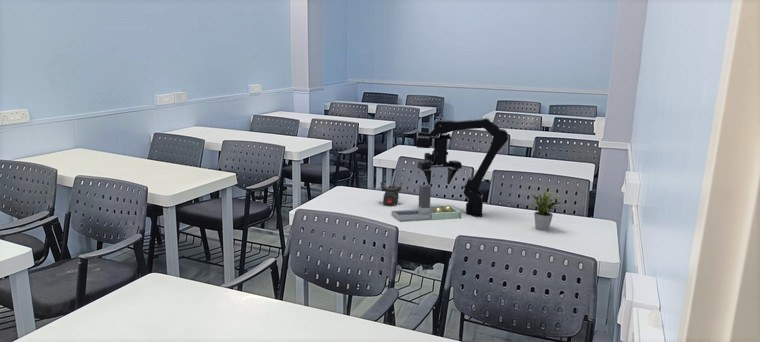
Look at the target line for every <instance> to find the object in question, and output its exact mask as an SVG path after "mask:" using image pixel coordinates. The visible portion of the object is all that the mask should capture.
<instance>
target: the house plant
mask: <svg viewBox="0 0 760 342" xmlns="http://www.w3.org/2000/svg"><path fill="white" fill-rule="evenodd" d="M546 189H547V188H545V189H544V190H543V191H544V192H543V196H542V194H541V193H540V192H539V191H537V194H538V197H539V198H538V197H537V196H536V195H535V193H534V192H532V193H531V192H530V193H527V194H529V195H531V196H532V197H533V198H534V200H532V202H533V203H534V204H536V205H537V206H536V205H534V204H530V206H529V207H530V209H532V208H533V209H534V208H535V209H537V211H534V213H533V214H534V225H535V226H534V227H535V229H536V230H538V231H550V226H551V223H552V219H553V215H554V214H553V213H552V212H551V210H558V211H560V209H561V210H562V208H561V206H558V205H559V204H563V202H562V201H561V202H559V201H556V200H558V198H559V197H560V196H561V194H559V195H556V196H555V197H553V198H551V199H550V197H551V196H552V194H554V193H555V191H553V192H552V190H550V191H548V193H547V194H546ZM553 201H555V202H553Z"/></svg>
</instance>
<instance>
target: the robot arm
mask: <svg viewBox="0 0 760 342" xmlns="http://www.w3.org/2000/svg"><path fill="white" fill-rule="evenodd" d="M433 126H434V127H433V129H432V131H430V132H423V131H419V132H418V133H417V136H416V137H417V138H416V148H417V149H430V148H431V147H433V150H432V151H431V152H432V153H430V152H425V153H424V156H423V157H424V161H423V160H422V161H418V163H417V165H416V166H417V168H418V169H420V170H421V171H422V172H423V173H424V177H425V179H426V182H427V185H429V186H430V185H431V180H432V170H431V168H447V183H446V184H447V185H450V183H451V182H452V180H453V178H454V176H455V175H456V173H457V172H459V171H460V170H461V169H462V167H463V166H462V162H461V161H459V160H447V158H448V155H449V152H448V142H449V140H452V139H453V136H451V134H450V133H451V132H454V131H461V130H473V129H474V130H475V129H484V130H485V131H486V132H487V133H488V134H489V135H490V136H492V140H491V144H490V147H489V149H488V150H487V152H486V154H485V156H484V158H483V160H482V161H481V162H480V163H481V164H480V165H479V167H478V169H477V170H476V172H475V174H474V175H473V177H471V176H469V177H468V179H467V181H466V183H464V185H463V193H464V196H465V197H466V198H467V202H466V203H465V214H466V215H467V216H472V217H483V204H484V202H483V196H484V194H483V193H482V192H481V191H480V190H479V189H480V186H481V184H482V181H483V179H484V177H485V175H486V173H487V172H488V170H489V168H490V167H491V164H492V163H493V161H494V159H495V157H496V156H497V153H498V152H499V151H500V150H501V149H502V148H503V146H504V145H505V144H506V143H507V141H508V140H509V133H508V131H507V130H506V129H504V128H500V127H499V126H498V125H496V124H495V123H493V122H492V121H491V120H490V119H489V118H487V117H486V118H479V119H467V120H451V119H450V120H449V119H440V120H437V121H436V122H435V124H434V125H433ZM437 135H439V136H437Z"/></svg>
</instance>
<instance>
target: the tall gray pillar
mask: <svg viewBox="0 0 760 342" xmlns="http://www.w3.org/2000/svg"><path fill="white" fill-rule="evenodd" d="M418 189H419V190H418V205H417V209H418V214H430V209H431V208H430V206H431V194H432V193H431V191H432V186H430V185H428V184H424V185H423V184H420V185H419V187H418Z"/></svg>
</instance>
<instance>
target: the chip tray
mask: <svg viewBox="0 0 760 342" xmlns="http://www.w3.org/2000/svg"><path fill="white" fill-rule="evenodd" d="M445 206H451V205H449V204H446V205H445V204H443V205H430V208H431V209H430V213H432V212H434V209H435V208H437V207H439V208H441V209H442V210H443V208H444V207H445ZM451 207H452V210H453V211H452V212H443V213H432V215H431V219H432V220H431V221H438V220H439V219H441V220H452V219H453V220H454V219H455V218H457V219H461V218H462V212H461V211H460V210H458V209H457V208H454V207H453V206H451Z"/></svg>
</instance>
